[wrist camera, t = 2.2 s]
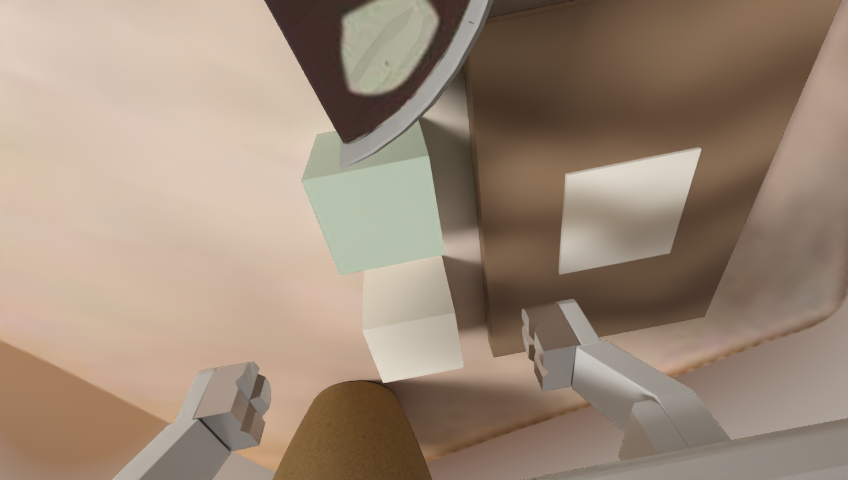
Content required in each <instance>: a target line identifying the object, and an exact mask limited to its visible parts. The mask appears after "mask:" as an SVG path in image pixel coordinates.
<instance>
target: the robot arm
mask: <svg viewBox="0 0 848 480" xmlns="http://www.w3.org/2000/svg"><path fill="white" fill-rule="evenodd" d="M522 319H523V322H524V324H525V325H524V326H523V327H522V336H523V341H524V346H525V349H526V352H527V355H528V357H529V359H531V360H532V361H533V362H534V372H535V375H536V377H537V379H538V382H539V384H540V387H541V389H542V391H548V390H554V389H560V388H566V387H572V389H573V390H575V391H576V392H577V393H578V394H579V395H581V396H582V397H583V398H584V399H585V400H587V401H588V402H589V403H590V404H591V405H592V406H594V407H595V408H596V409H597V410H598V411H600V412H601V413H602V414H603V415H605V416H606V417H607V418H608V419H609V420H610V421H611V422H613V423H614V424H615V425H616V426H617V427H619V428H620V429H621V430H622V431H623V432H625V435H624V438H623V441H622V445H621V448H620V451H619V455H618V456H619V459H620V461H617V462H612V463H607V464H602V465H597V466H591V467H586V468H581V469H575V470H570V471H564V472H559V473H554V474H549V475H543V476H538V477H532V478H527V479H522V480H848V418H846V419H841V420H835V421H830V422H824V423H820V424H814V425H808V426H803V427H798V428H793V429H788V430H782V431H777V432H771V433H766V434H761V435H755V436H750V437H745V438H740V439H734V440H731V439H730V438H729V436H728V435H727V434H726V432H725V431H724V430H723V429H722V427H721V426H720V425H719V423H718V422H717V421H716V420H715V418H714V417H713V416H712V414H711V413H710V412H709V410H708V409H707V408H706V407H705V405H704V404H703V403H702V401H701V400H700V399H699V397H698V396H697V395H696V394H695V392H694V391H693V390H691V389H689V388H688V387H686V386H684V385H683V384H681V383H679V382H677V381H676V380H674V379H672V378H671V377H669V376H667V375H665V374H664V373H662V372H660V371H658V370H657V369H655V368H653V367H651V366H650V365H648V364H646V363H645V362H643V361H641V360H639V359H638V358H636V357H634V356H632V355H631V354H629V353H627V352H625V351H624V350H622V349H620V348H618V347H617V346H615V345H613V344H612V343H610V342H608V341H601V340H600V339H599V337H598V335H597V334H596V332H595V331H594V329H593V327H592V326H591V324H590V323H589V321H588V320H587V318H586V316H585V315H584V313H583V312H582V310H581V308H580V307H579V305H578V304H577V302H576V301H575V300H574V299H569V300H564V301H559V302H552V303H548V304H543V305H538V306H533V307H528V308H523V309H522ZM258 371H259V367H258V366H257V365H256V363H255V362H246V363H240V364H234V365H228V366H222V367H217V368H212V369H206V370H201V371H200V372H199V373H198V374H197V375H196V377H195V379H194V382H193V384H192V386H191V388H190V390H189V392H188V395H187V397H186V399H185V401H184V403H183V405H182V408H181V410H180V412H179V414H178V416H177V418H176V420H175V423H173V424H169V425H168V426H167V427H166V428H165V429H164V430H163V431H162V432H161V433H160V434H159V435H158V436H157V437H156V438H155V439H153V440H152V441H151V442H150V443H149V444H148V445H147V446H146V447H145V448H144V449H143V450H142V451H141V452H140V453H139V454H138V455H137V456H136V457H135V458H134V459H133V460H132V461H131V462H130V463H129V464H128V465H127V466H126V467H125V468H123V469H122V470H121V471H120V472H119V473H118V474H117V475H116V476H115V477H114V478H113V479H112V480H212V479H213V478H214V476H215V475H216V474H217V472H218V471H219V469H220V468H221V466H222V465H223V464H224V462H225V461H226V460H227V458H228V457H229V456H230V454H231V451H236V450H240V449H245V448H250V447H254V446H259V445H260V441H261V437H262V433H263V430H264V426H265V421H264V420H263V418H262V416H263V415H264V414H265V412H266V411H267V410H268V409H269V406H270V401H271V388H270V385H269V382H268V380H267V379H266V377H264V376H262V375H259V374H258Z"/></svg>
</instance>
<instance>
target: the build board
mask: <svg viewBox="0 0 848 480" xmlns="http://www.w3.org/2000/svg"><path fill="white" fill-rule="evenodd" d="M840 3H841V0H574V1H569V2H564V3H560V4H555V5H550V6H545V7H540V8H535V9H530V10H525V11H520V12H515V13H510V14H505V15H500V16H495V17H490V18H487V19H486V22H485V24H484V27H483V29H482V31H481V33H480V35H479V37H478V38H477V40H476V42H475V44H474V46H473V48H472V49H471V51H470V53H469V55H468V57H467V58H466V60H465V62H464V73H465V84H466V95H467V106H468V117H469V128H470V139H471V150H472V161H473V172H474V183H475V194H476V205H477V216H478V227H479V238H480V249H481V260H482V271H483V282H484V293H485V304H486V315H487V326H488V337H489V343H490V347H491V350H492V353H493V356H494V357H499V356H504V355H509V354H515V353H520V352H525V351H526V349H525V346H524V341H523V336H522V327H523V326H524V325H525V324H524V322H523V319H522V309H523V308H528V307H533V306H538V305H543V304H548V303H552V302H559V301H564V300H569V299H574V300H575V301H576V302H577V304H578V305H579V307H580V308H581V310H582V312H583V313H584V315H585V316H586V318H587V320H588V321H589V323H590V324H591V326H592V327H593V329H594V331H595V332H596V334H597V335H598V337H602V336H607V335H613V334H618V333H623V332H628V331H633V330H638V329H644V328H649V327H654V326H659V325H664V324H669V323H675V322H680V321H685V320H690V319H695V318H700V317H704V316H705V314H706V312H707V310H708V307H709V305H710V303H711V300H712V298H713V296H714V293H715V291H716V289H717V286H718V284H719V282H720V280H721V277H722V275H723V273H724V270H725V268H726V266H727V263H728V261H729V259H730V256H731V254H732V252H733V250H734V247H735V245H736V243H737V240H738V238H739V236H740V233H741V231H742V229H743V226H744V224H745V222H746V220H747V217H748V215H749V213H750V210H751V208H752V206H753V203H754V201H755V199H756V196H757V194H758V192H759V189H760V187H761V185H762V183H763V180H764V178H765V176H766V173H767V171H768V169H769V166H770V164H771V162H772V159H773V157H774V155H775V153H776V150H777V148H778V146H779V143H780V141H781V139H782V136H783V134H784V132H785V129H786V127H787V125H788V123H789V120H790V118H791V116H792V113H793V111H794V109H795V106H796V104H797V102H798V99H799V97H800V95H801V93H802V90H803V88H804V86H805V83H806V81H807V79H808V76H809V74H810V72H811V69H812V67H813V65H814V63H815V60H816V58H817V56H818V53H819V51H820V49H821V46H822V44H823V42H824V39H825V37H826V35H827V33H828V30H829V28H830V26H831V23H832V21H833V19H834V16H835V14H836V12H837V9H838V7H839V5H840Z"/></svg>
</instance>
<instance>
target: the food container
mask: <svg viewBox="0 0 848 480" xmlns="http://www.w3.org/2000/svg"><path fill="white" fill-rule="evenodd" d="M264 1H265V2H266V4H267V6H268V8H269V9H270V11H271V13H272V15H273V17H274V18H275V20H276V22H277V24H278V25H279V27H280V29H281V31H282V33H283V35H284V36H285V38H286V40H287V42H288V44H289V46H290V47H291V49H292V51H293V53H294V55H295V57H296V58H297V60H298V62H299V64H300V66H301V68H302V69H303V71H304V73H305V75H306V77H307V79H308V80H309V82H310V84H311V86H312V88H313V89H314V91H315V93H316V95H317V97H318V99H319V100H320V102H321V104H322V106H323V108H324V109H325V111H326V113H327V115H328V117H329V119H330V120H331V122H332V124H333V126H334V128H335V129H336V131H337V133H338V135H339V137H340V166H339V167H340V169H341V170H342V169H344V168H346V167H350V166H352V165H353V164H355V163H357V162H359V161H361V160H363V159H365V158H367V157H369V156H371V155H373V154H375V153H377V152H378V151H380V150H381V149H383V148H384V147H385V146H387V145H388V144H390V143H391V142H392V141H394V140H395V139H397V138H398V137H399V136H401V135H402V134H404V133H405V132H406V131H407V130H409V129H410V128H411V127H412V126H413V125H414V124H415V123H416V122H417V121H418V120H419V119H420V118H421V117H422V116H423V115H424V114H425V113H426V112H427V111H428V110H429V109H430V108H431V107H432V106H433V105H434V104H435V103H436V101H437V100H438V99H439V97H440V96H441V95H442V93H443V92H444V91H445V89H446V88H447V87H448V85H449V84H450V83H451V81H452V80H453V79H454V77H455V76H456V75H457V73H458V72H459V71H460V69H461V67H462V66H463V64H464V62H465V60H466V58H467V57H468V55H469V53H470V51H471V49H472V48H473V46H474V44H475V42H476V40H477V38H478V37H479V35H480V33H481V31H482V29H483V27H484V24H485V22H486V19H487V17H488V14H489V12H490V9H491V7H492V4H493V1H494V0H264Z"/></svg>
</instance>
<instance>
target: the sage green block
mask: <svg viewBox="0 0 848 480" xmlns="http://www.w3.org/2000/svg"><path fill="white" fill-rule="evenodd" d="M339 166H340V137H339V135H338V133H337V131H332V132H327V133H322V134H317V136H316V139H315V142H314V145H313V148H312V151H311V154H310V157H309V160H308V163H307V166H306V169H305V172H304V175H303V178H302V183H303V186H304V188H305V191H306V193H307V196H308V198H309V201H310V203H311V206H312V208H313V211H314V213H315V215H316V218H317V220H318V223H319V225H320V228H321V230H322V233H323V235H324V238H325V240H326V243H327V245H328V248H329V250H330V253H331V255H332V257H333V260H334V262H335V265H336V267H337V270H338V272H339V275H345V274H350V273H355V272H360V271H365V270H370V269H375V268H380V267H385V266H390V265H396V264H401V263H406V262H411V261H416V260H421V259H426V258H431V257H436V256H441V255H445V250H444V244H443V238H442V232H441V226H440V220H439V214H438V208H437V202H436V196H435V190H434V184H433V178H432V172H431V166H430V160H429V154H428V151H427V147H426V144H425V141H424V137H423V134H422V130H421V127H420V123H419V120H418V121H417V122H416V123H415V124H414V125H413V126H412V127H411V128H410V129H409V130H407V131H406V132H405V133H404V134H402V135H401V136H399V137H398V138H397V139H395V140H394V141H392V142H391V143H390V144H388V145H387V146H385V147H384V148H383V149H381V150H380V151H378V152H377V153H375V154H373V155H371V156H369V157H367V158H365V159H363V160H361V161H359V162H357V163H355V164H353V165H352V166H350V167H346V168H344V169H342V170H341V169H340V167H339Z"/></svg>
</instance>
